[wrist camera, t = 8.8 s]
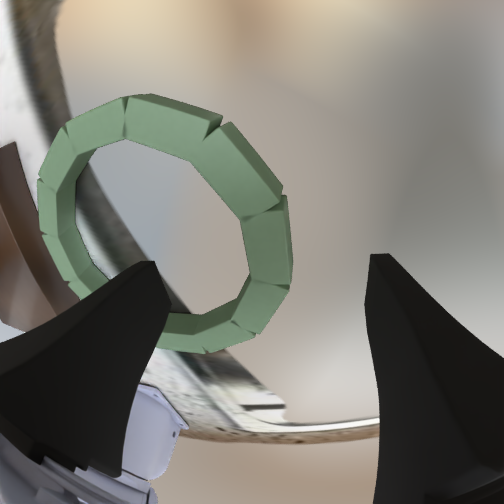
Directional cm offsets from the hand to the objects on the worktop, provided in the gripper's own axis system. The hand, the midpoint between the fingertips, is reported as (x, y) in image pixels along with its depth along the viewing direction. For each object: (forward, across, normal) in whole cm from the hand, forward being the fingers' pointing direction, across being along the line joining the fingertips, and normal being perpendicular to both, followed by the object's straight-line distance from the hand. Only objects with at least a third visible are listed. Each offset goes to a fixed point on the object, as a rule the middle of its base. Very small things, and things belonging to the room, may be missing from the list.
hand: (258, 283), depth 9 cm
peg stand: (+3, +22, 0) cm, 22 cm away
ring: (+3, +6, 0) cm, 7 cm away
